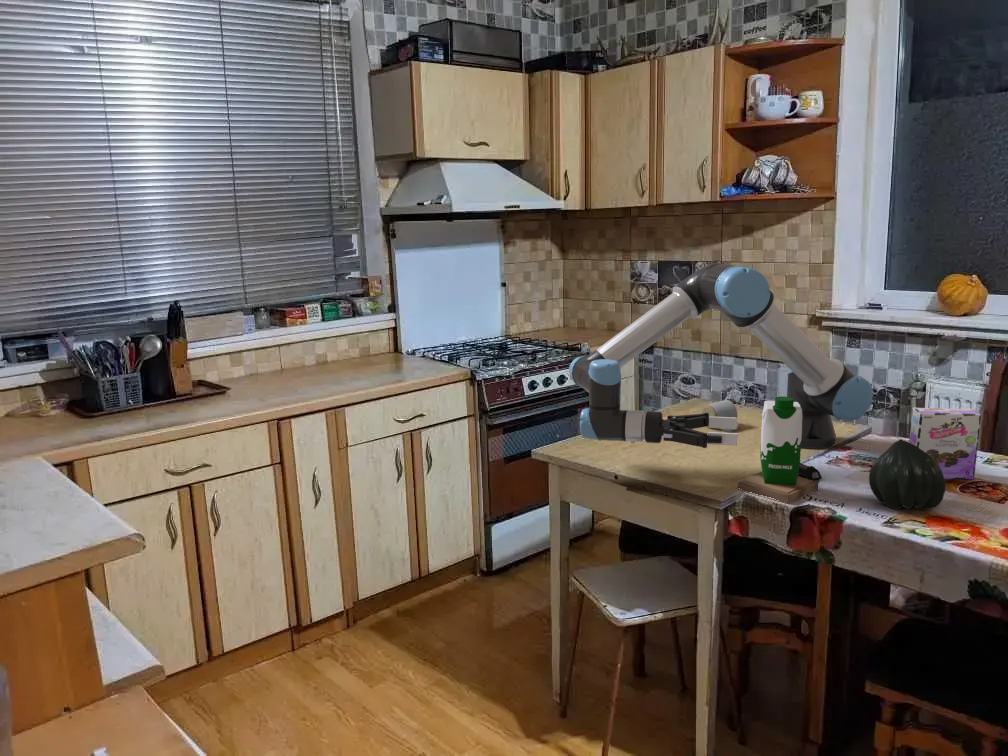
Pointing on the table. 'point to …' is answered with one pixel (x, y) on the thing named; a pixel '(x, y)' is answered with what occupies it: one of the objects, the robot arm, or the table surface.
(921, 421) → the candy box
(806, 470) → the electric trimmer
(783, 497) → the board
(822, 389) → the robot arm
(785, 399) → the milk carton
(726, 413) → the ceramic mug
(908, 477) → the squash
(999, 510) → the table surface
